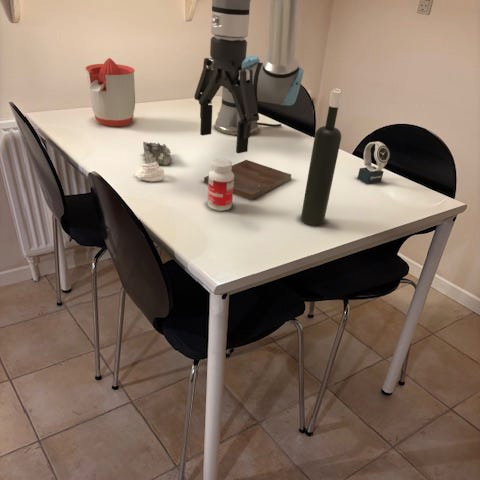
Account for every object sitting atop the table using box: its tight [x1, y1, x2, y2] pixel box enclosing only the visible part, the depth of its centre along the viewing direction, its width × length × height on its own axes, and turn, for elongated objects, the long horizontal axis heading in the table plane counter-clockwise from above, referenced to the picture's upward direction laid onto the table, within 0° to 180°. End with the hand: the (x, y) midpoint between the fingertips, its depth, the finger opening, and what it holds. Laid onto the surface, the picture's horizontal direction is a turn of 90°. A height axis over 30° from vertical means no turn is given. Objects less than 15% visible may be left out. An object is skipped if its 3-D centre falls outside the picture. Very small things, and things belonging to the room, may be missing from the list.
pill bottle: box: [207, 158, 234, 212], centre depth 117 cm, size 6×6×11 cm
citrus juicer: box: [85, 57, 136, 128], centre depth 160 cm, size 16×17×20 cm
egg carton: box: [142, 141, 172, 166], centre depth 141 cm, size 11×8×4 cm
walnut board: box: [203, 159, 292, 201], centre depth 134 cm, size 20×16×2 cm
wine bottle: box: [300, 87, 343, 227], centre depth 108 cm, size 6×6×30 cm
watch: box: [356, 141, 391, 185], centre depth 139 cm, size 6×8×11 cm
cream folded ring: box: [134, 162, 165, 183], centre depth 129 cm, size 8×7×5 cm
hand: (223, 143), depth 110 cm, fingers open, 13 cm apart
